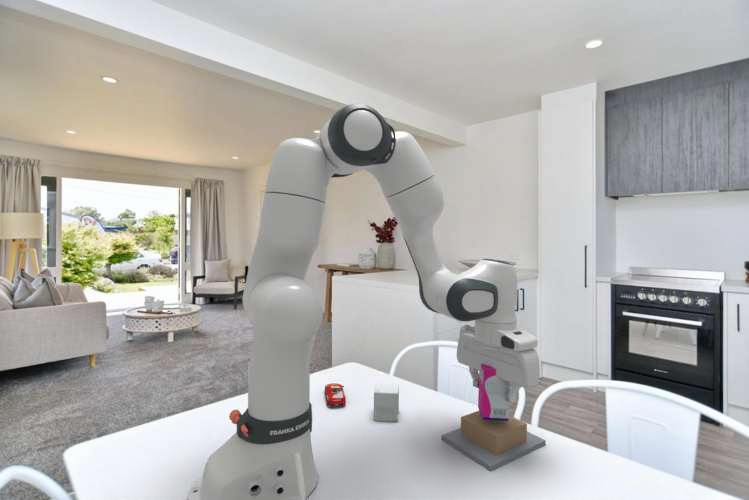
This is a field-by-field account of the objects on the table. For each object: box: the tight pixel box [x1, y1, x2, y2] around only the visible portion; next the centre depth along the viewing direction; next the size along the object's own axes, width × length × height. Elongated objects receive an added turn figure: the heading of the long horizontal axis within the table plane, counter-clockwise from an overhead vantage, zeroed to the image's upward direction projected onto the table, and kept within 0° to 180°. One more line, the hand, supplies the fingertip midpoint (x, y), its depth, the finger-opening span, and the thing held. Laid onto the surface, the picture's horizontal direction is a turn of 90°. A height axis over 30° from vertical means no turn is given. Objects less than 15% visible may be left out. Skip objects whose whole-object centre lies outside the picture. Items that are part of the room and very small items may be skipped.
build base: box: [440, 410, 547, 472], centre depth 87 cm, size 18×14×5 cm
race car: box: [324, 382, 347, 408], centre depth 110 cm, size 13×5×4 cm, turn 10°
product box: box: [373, 383, 400, 423], centre depth 99 cm, size 6×6×7 cm
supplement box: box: [477, 364, 511, 421], centre depth 87 cm, size 6×6×12 cm
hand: (493, 393), depth 87 cm, fingers closed on supplement box, 8 cm apart
